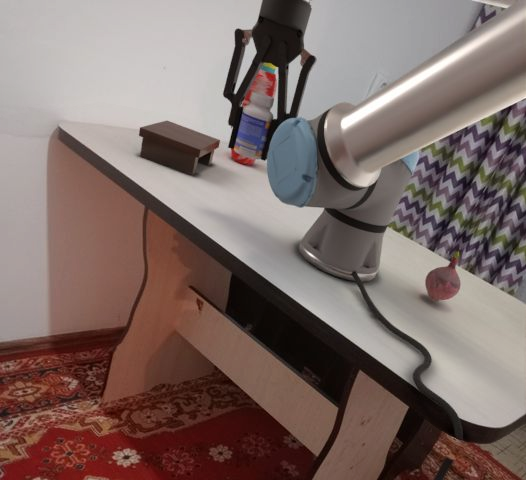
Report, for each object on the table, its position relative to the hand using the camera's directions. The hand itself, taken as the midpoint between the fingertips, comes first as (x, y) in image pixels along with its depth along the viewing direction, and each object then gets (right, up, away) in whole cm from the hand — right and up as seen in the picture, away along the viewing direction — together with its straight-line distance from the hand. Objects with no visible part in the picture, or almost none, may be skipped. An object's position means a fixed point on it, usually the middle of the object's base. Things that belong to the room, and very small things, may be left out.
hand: (248, 152), depth 82 cm
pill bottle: (0, 0, 0) cm, 1 cm away
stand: (-18, +10, +28) cm, 34 cm away
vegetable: (+34, -26, +4) cm, 43 cm away
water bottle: (-4, +18, +46) cm, 50 cm away
